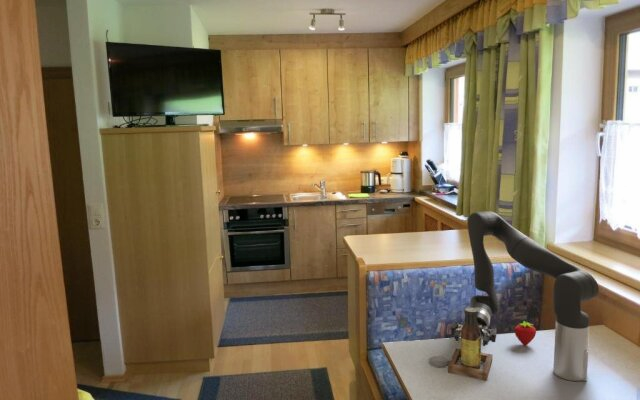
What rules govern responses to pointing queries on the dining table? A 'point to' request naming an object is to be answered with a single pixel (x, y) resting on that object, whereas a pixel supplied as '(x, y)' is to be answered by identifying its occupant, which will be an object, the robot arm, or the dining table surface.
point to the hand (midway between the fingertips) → (470, 340)
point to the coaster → (439, 361)
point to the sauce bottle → (471, 340)
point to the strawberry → (525, 332)
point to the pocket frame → (469, 371)
